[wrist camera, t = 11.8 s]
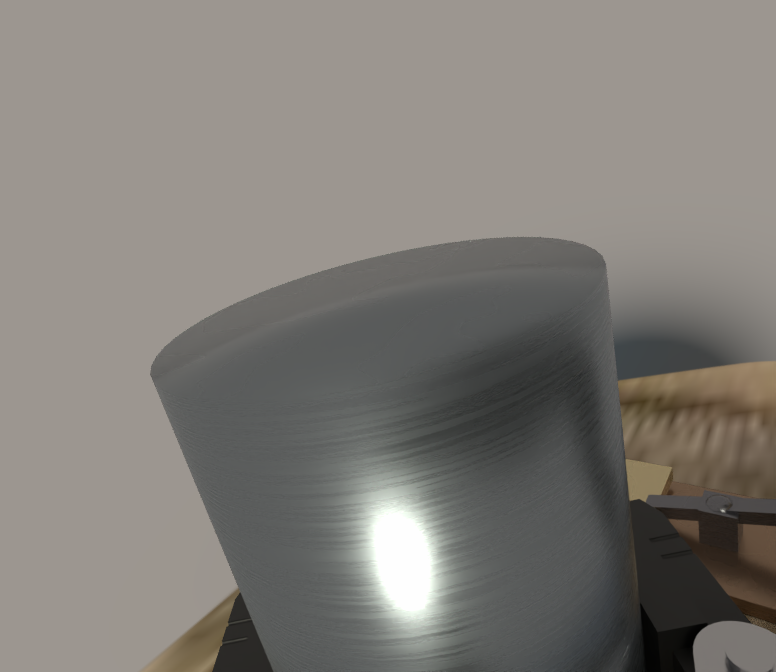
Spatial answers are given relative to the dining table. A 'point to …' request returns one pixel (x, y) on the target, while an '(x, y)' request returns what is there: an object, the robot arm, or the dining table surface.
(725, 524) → the balance
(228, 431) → the tea canister
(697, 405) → the dining table surface
